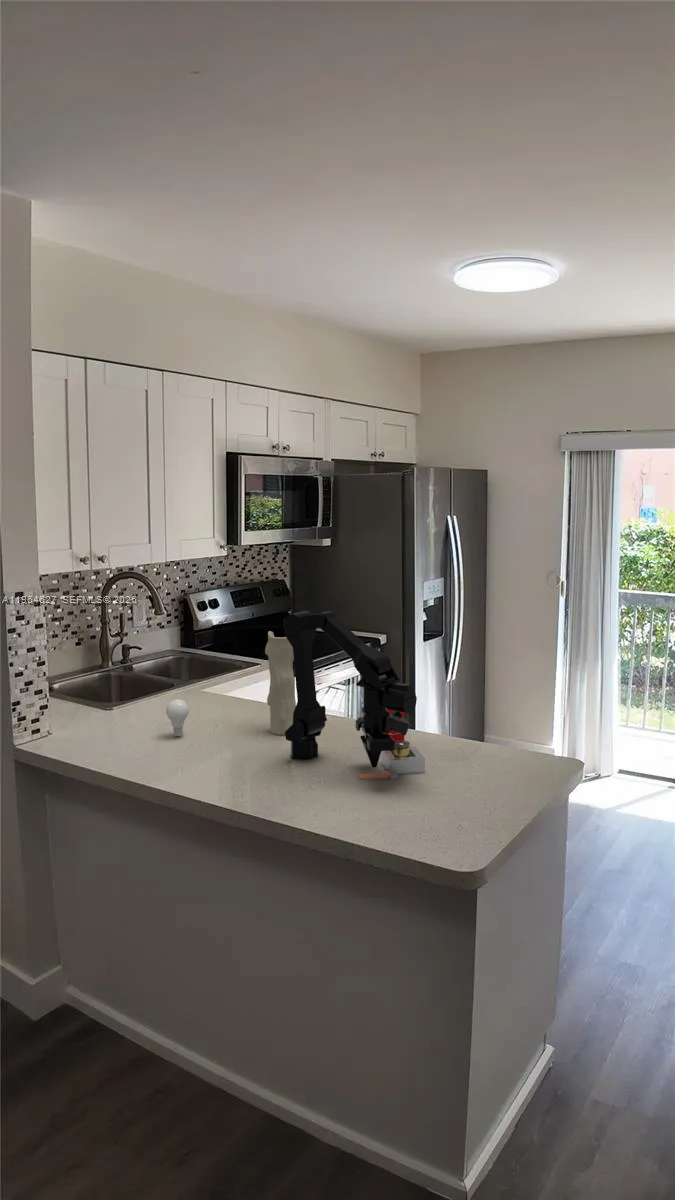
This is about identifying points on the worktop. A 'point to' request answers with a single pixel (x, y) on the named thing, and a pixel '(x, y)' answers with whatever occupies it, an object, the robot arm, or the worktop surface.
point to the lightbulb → (177, 715)
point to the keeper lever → (375, 775)
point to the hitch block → (404, 762)
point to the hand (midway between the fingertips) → (374, 766)
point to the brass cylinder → (401, 749)
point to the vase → (280, 683)
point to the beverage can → (396, 735)
